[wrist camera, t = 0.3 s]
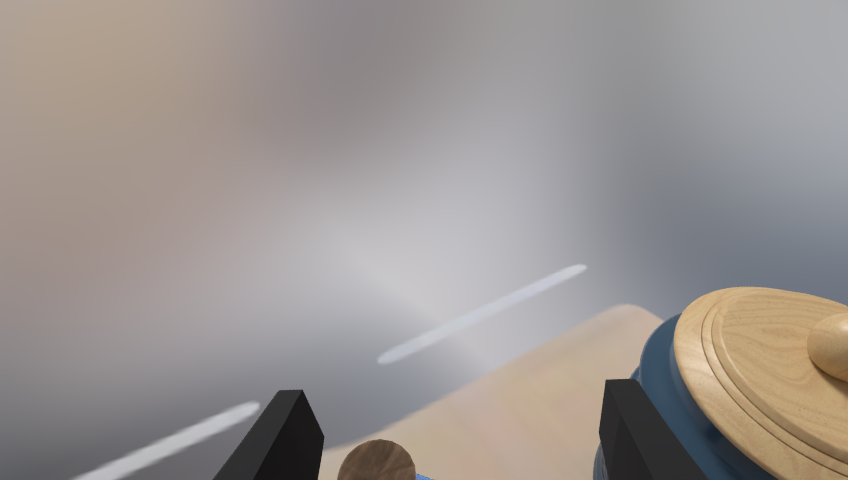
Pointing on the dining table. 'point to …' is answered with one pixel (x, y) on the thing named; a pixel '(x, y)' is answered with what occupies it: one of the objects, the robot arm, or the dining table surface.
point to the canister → (753, 384)
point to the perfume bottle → (378, 463)
